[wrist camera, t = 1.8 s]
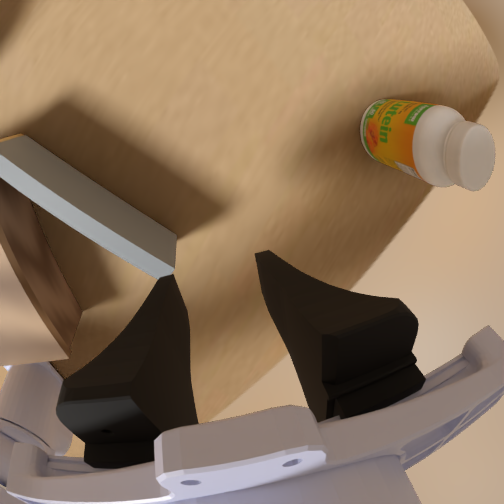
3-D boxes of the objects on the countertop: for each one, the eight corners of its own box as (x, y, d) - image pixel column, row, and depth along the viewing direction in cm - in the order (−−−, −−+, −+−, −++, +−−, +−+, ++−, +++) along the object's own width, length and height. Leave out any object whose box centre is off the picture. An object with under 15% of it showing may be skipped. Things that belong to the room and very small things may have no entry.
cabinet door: (12, 144, 14) (-24, 157, 10) (18, 130, 14) (-18, 140, 10) (167, 247, 21) (164, 283, 17) (177, 235, 21) (175, 268, 16)
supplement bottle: (372, 86, 18) (471, 92, 10) (417, 119, 20) (508, 143, 12) (347, 145, 20) (439, 179, 12) (394, 172, 22) (480, 216, 14)
